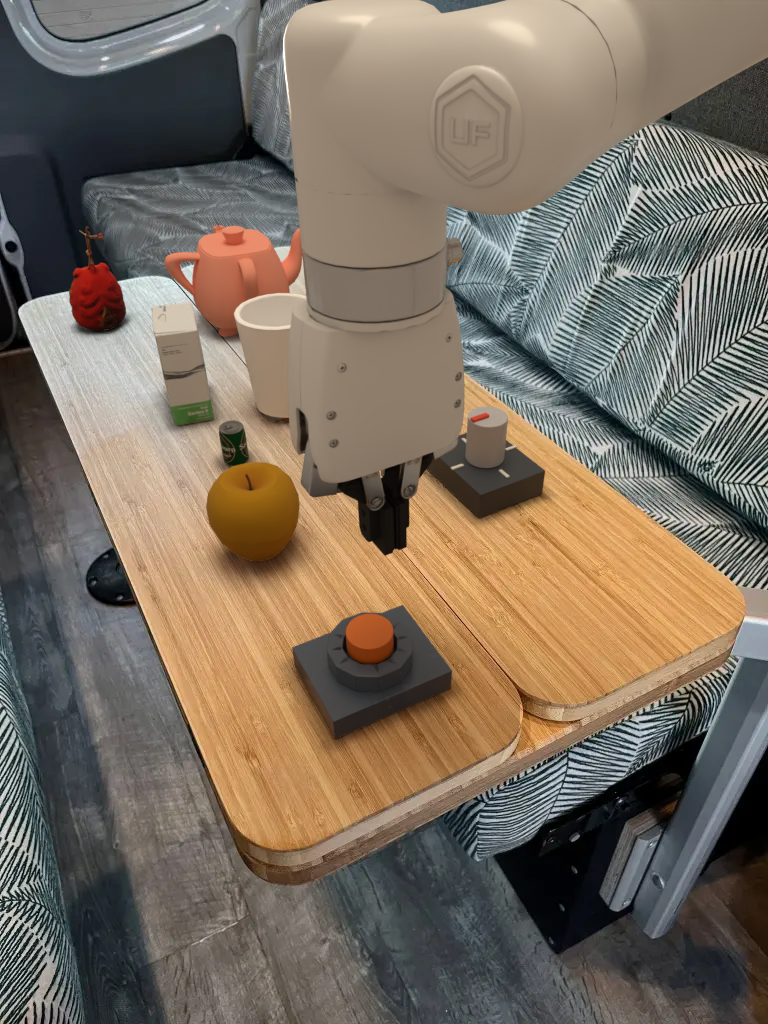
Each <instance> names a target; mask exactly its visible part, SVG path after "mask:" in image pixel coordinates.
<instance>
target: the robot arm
mask: <svg viewBox="0 0 768 1024" xmlns="http://www.w3.org/2000/svg"><path fill="white" fill-rule="evenodd" d="M282 50H283V51H282V53H283V68H284V69H283V70H284V78H285V90H286V99H287V101H286V102H287V110H288V111H287V112H288V121H289V132H290V142H291V152H292V163H293V173H294V183H295V193H296V194H295V195H296V204H297V214H298V225H299V228H300V237H301V247H302V267H303V277H304V279H303V280H304V287H305V296H306V298H307V299H306V300H307V301H305V302H302V303H299V304H297V305H295V306H294V308H293V312H292V318H291V326H290V336H289V349H288V408H289V418H288V424H289V432H290V433H289V434H290V439H291V444H292V447H293V449H294V450H295V452H296V453H297V455H298V456H301V455H304V456H303V463H302V468H301V469H302V470H301V476H300V486H301V487H302V488H303V490H305V491H306V493H307V494H308V495H309V497H311V498H321V497H326V496H327V497H329V496H336V495H337V494H343V495H345V496H347V497H349V498H350V499H353V500H354V501H357V509H358V510H357V511H358V512H357V513H358V527H359V531H360V533H361V535H362V537H363V538H364V539H365V540H366V542H367V543H373V544H374V546H375V547H376V548H377V549H378V550H379V551H380V552H381V553H382V555H383V556H385V557H386V556H388V555H390V554H393V553H394V551H395V550H398V551H401V550H404V549H406V548H407V546H408V543H407V542H408V541H407V540H408V539H407V535H408V534H407V533H408V532H407V530H408V528H409V527H410V499H411V498H413V497H414V496H415V495H417V492H418V489H419V488H418V487H419V480H420V479H421V477H422V476H423V474H424V473H425V472H426V471H427V468H428V467H429V465H430V464H431V462H432V460H433V459H434V460H436V459H437V458H439V457H441V456H442V455H444V454H446V453H447V452H449V451H451V450H453V449H454V448H455V447H456V446H457V444H458V437H459V435H461V432H462V429H463V425H464V424H463V423H464V417H465V362H464V351H463V342H462V333H461V327H460V321H459V317H458V312H457V307H456V303H455V298H454V294H453V293H452V291H450V289H448V288H447V285H448V268H450V267H451V266H452V264H456V263H459V262H461V261H462V259H463V256H464V250H463V244H462V242H461V241H460V239H458V238H457V237H451V238H448V237H447V228H448V226H447V225H448V206H450V207H454V208H457V209H459V210H462V211H467V212H471V213H476V214H482V215H486V216H487V215H489V216H504V215H505V216H506V215H515V214H519V213H522V212H525V211H528V210H531V209H533V208H535V207H537V206H539V205H542V204H543V203H544V202H546V201H548V200H549V199H551V198H552V197H553V196H555V195H556V194H557V193H559V192H560V191H562V189H563V188H565V187H566V186H567V185H568V184H569V183H571V182H572V181H573V180H574V179H575V178H577V177H579V175H580V174H582V172H584V171H585V170H586V169H587V168H588V167H589V166H590V165H591V164H593V163H594V162H595V161H596V160H598V159H599V158H601V157H602V156H603V155H605V154H606V153H608V152H609V151H610V150H611V149H613V148H614V147H615V146H617V145H619V144H620V143H622V142H623V141H625V140H626V139H628V138H630V137H631V136H633V135H635V134H636V133H638V132H640V131H641V130H643V129H644V128H646V127H648V126H649V125H651V124H653V123H655V122H656V121H658V120H660V119H662V118H663V117H664V116H666V115H668V114H670V113H672V112H673V111H675V110H677V109H678V108H680V107H682V106H684V105H685V104H687V103H689V102H691V101H692V100H694V99H696V98H698V97H699V96H701V95H703V94H704V93H706V92H708V91H709V90H711V89H713V88H715V87H716V86H719V85H720V84H722V83H723V82H725V81H727V80H729V79H730V78H733V77H735V76H736V75H738V74H740V73H742V72H743V71H745V70H747V69H749V68H750V67H752V66H754V65H756V64H758V63H760V62H761V61H763V60H765V59H767V58H768V0H501V1H498V2H494V3H490V4H484V5H480V6H475V7H470V8H466V9H460V10H455V11H449V12H441V11H440V10H439V9H437V7H435V5H433V4H431V3H428V2H427V1H424V0H323V1H319V2H314V3H309V4H307V5H305V6H303V7H301V8H300V9H297V10H296V11H295V12H294V13H293V15H292V16H291V17H290V19H289V20H288V22H287V24H286V26H285V30H284V34H283V42H282Z"/></svg>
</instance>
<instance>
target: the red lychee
mask: <svg viewBox="0 0 768 1024" xmlns="http://www.w3.org/2000/svg"><path fill="white" fill-rule="evenodd" d="M89 228H90V226H88V225H87V226H85V233H84V232H83V231H82V230H80V229H79V230H78V232H79V233H81V234H82V235H84V236H85V237H84V238H85V243H86V247H87V249H86V250H85V253H86V255H87V256H88V266H84V267H76V268H75V269H74V271H73V272H72V276H73V280H72V282H71V285H70V289H69V291H68V295H69V298H68V299H69V305H70V307H71V315H72V317H73V319H74V320H75V322H76V323H77V324H78V326H79V327H81V328H82V329H84V330H87V331H91V332H103V331H109V330H112V329H114V328H116V327H119V326H120V325H121V324H122V323H123V322H124V320H125V318H126V315H127V308H126V303H125V299H124V294H123V290H122V287H121V285H120V283H119V282H118V280H117V278H116V276H115V275H114V274H113V273H112V271H111V268H110V267H109V265H107V264H106V263H104V262H100V263H98V264H95V262H94V260H93V254H92V253H93V252H92V249H91V240H95V239H97V240H101V241H103V240H104V236H103V232H100V233H98V234H94V235H91V232H90V231H88V230H89Z"/></svg>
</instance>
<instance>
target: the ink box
mask: <svg viewBox="0 0 768 1024" xmlns="http://www.w3.org/2000/svg"><path fill="white" fill-rule="evenodd" d="M151 313H152V314H151V316H152V333H154V335H153V336H154V339H155V344H156V348H157V352H158V358H159V361H160V367H161V373H162V377H163V381H164V385H165V391H166V394H167V398H168V402H169V406H170V407H169V408H170V411H171V414H172V418H173V419H172V420H173V425H174V426H176V427H177V426H182V425H188V424H194V423H199V422H204V421H210V420H214V419H215V416H214V410H213V409H214V408H213V405H212V398H211V391H210V387H209V380H208V375H207V369H206V368H207V367H206V363H205V358H204V353H203V348H202V342H201V338H200V333H199V328H198V323H197V319H196V314H195V309H194V305H193V302H182V303H169V304H161V305H154V306H152V307H151Z"/></svg>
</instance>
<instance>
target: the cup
mask: <svg viewBox="0 0 768 1024" xmlns="http://www.w3.org/2000/svg"><path fill="white" fill-rule="evenodd" d="M306 299H307V298H306V295H303V294H299V293H291V292H290V293H275V294H267V295H262V296H258V297H255V298H252V299H249V300H247V301H245V302H243V303H241V304H240V305H239V306H238V307H237V308H236V310H235V312H234V316H235V320H236V325H237V329H238V332H237V334H238V335H239V341H240V344H241V348H242V353H243V357H244V361H245V364H246V368H247V372H248V376H249V381H250V384H251V389H252V393H253V396H254V401H255V405H256V408H257V409H258V411H259V412H260V413H262V414H263V415H265V416H266V417H267V418H268V419H269V420H270V421H271V422H280V421H282V420H283V419H289V408H288V349H289V336H290V326H291V318H292V312H293V308H294V306H295V305H297V304H299V303H302V302H305V301H307V300H306Z"/></svg>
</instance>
